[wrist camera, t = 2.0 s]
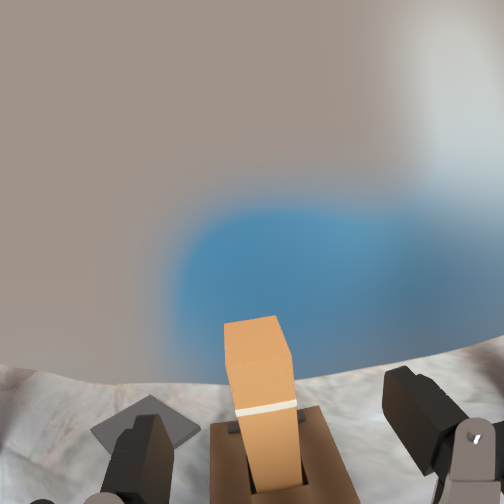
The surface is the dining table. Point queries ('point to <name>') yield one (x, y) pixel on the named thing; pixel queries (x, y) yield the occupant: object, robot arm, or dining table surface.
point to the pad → (173, 421)
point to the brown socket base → (312, 466)
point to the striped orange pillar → (264, 401)
